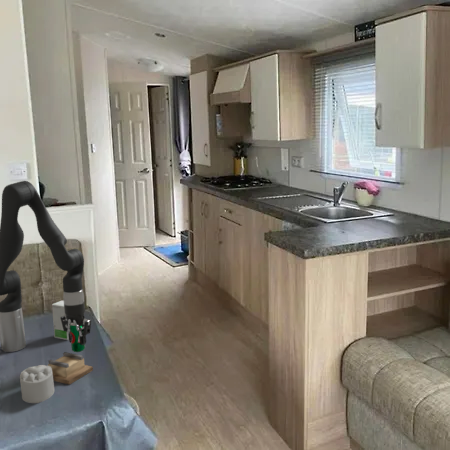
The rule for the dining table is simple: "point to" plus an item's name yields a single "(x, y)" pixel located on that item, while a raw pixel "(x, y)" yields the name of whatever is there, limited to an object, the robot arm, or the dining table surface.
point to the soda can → (75, 338)
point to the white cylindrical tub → (37, 384)
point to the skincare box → (59, 320)
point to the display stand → (69, 368)
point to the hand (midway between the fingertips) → (77, 343)
